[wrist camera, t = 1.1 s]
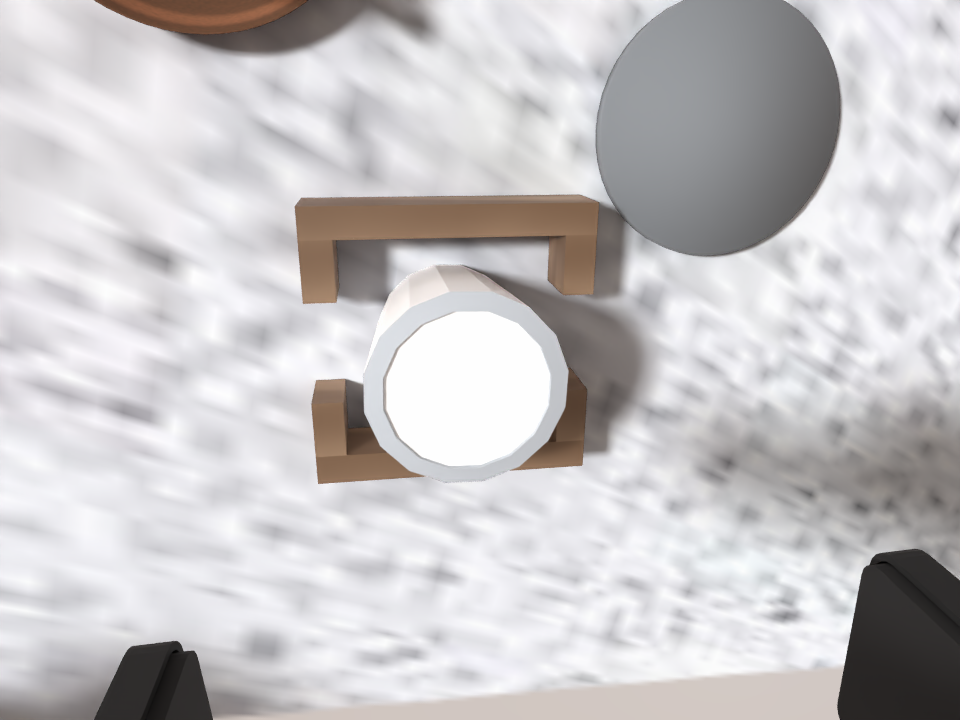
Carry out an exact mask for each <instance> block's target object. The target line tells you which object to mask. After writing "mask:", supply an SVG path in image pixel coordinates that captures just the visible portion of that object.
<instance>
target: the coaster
mask: <svg viewBox="0 0 960 720" xmlns="http://www.w3.org/2000/svg"><path fill="white" fill-rule="evenodd" d="M839 117H840V93H839V84H838V78H837V74H836V70H835V66H834V62H833V60H832V57H831V55H830V52H829V50H828V47H827V46H826V44H825V42H824V40H823V38H822V37H821V35H820V33H819V32H818V31H817V29H816V28H815V27H814V26H813V24H812V23H811V22H810V21H809V20H808V19H807V18H806V17H805V16H804V15H803V14H802V13H801V12H800V11H799V10H797V9H796V8H794V7H793V6H792V5H790V4H789V3H787V2H786V1H784V0H683V1H681V2H679V3H677V4H675V5H673V6H671V7H670V8H668V9H666V10H665V11H663V12H662V13H660V14H659V15H658V16H656V17H655V18H653V19H652V20H651V21H650V22H649V23H648V24H647V25H645V26H644V27H643V28H642V29H641V30H640V31H639V32H638V33H637V34H636V35H635V37H634V38H633V39H632V40H631V41H630V43H629V44H628V45H627V46H626V48H625V49H624V51H623V52H622V54H621V55H620V57H619V58H618V60H617V61H616V63H615V65H614V67H613V69H612V71H611V73H610V75H609V77H608V80H607V83H606V85H605V88H604V91H603V93H602V97H601V101H600V105H599V110H598V115H597V124H596V153H597V161H598V166H599V170H600V174H601V178H602V181H603V184H604V186H605V189H606V191H607V194H608V196H609V197H610V199H611V201H612V203H613V205H614V206H615V208H616V209H617V211H618V212H619V213H620V214H621V216H622V217H623V218H624V220H625V221H626V222H627V223H628V224H629V225H630V226H631V227H632V228H634V229H635V230H636V231H637V232H639V233H640V234H641V235H643V236H644V237H645V238H647V239H649V240H651V241H653V242H655V243H656V244H658V245H660V246H663V247H665V248H668V249H670V250H673V251H676V252H680V253H685V254H690V255H705V256H709V255H719V254H725V253H730V252H734V251H738V250H740V249H743V248H746V247H749V246H751V245H753V244H755V243H757V242H759V241H761V240H763V239H765V238H766V237H768V236H769V235H771V234H772V233H774V232H775V231H777V230H778V229H780V228H781V227H782V226H783V225H784V224H785V223H787V222H788V221H789V220H790V219H791V218H792V217H793V216H794V215H795V214H796V213H797V212H798V211H799V210H800V209H801V208H802V206H803V205H804V204H805V203H806V201H807V200H808V199H809V197H810V196H811V195H812V193H813V192H814V190H815V188H816V187H817V185H818V183H819V182H820V180H821V178H822V176H823V174H824V172H825V170H826V168H827V166H828V163H829V160H830V158H831V155H832V152H833V149H834V145H835V141H836V137H837V132H838V125H839Z"/></svg>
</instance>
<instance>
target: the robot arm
mask: <svg viewBox="0 0 960 720" xmlns="http://www.w3.org/2000/svg"><path fill="white" fill-rule="evenodd" d="M837 706H838V707H837V708H838V715H839V718H840V720H960V580H958V579H957V578H956V577H955V576H954V575H952V574H951V573H950V572H949V571H948V570H946V569H945V568H944V567H943V566H942V565H941V564H939V563H938V562H937V561H936V560H935V559H933V558H932V557H931V556H930V555H928V554H927V553H925V552H924V551H922V550H918V549H910V550H902V551H894V552H886V553H880V554H876V555H875V556H874V557H873V558H872V560H871V563H870V565H869V566H866V567H865V568H864V569H863V572H862V576H861V581H860V586H859V592H858V597H857V602H856V607H855V613H854V618H853V623H852V629H851V634H850V639H849V645H848V650H847V655H846V661H845V666H844V671H843V676H842V682H841V687H840V692H839V698H838V705H837ZM94 720H213V718H212V714H211V709H210V705H209V701H208V697H207V693H206V689H205V685H204V681H203V677H202V673H201V669H200V665H199V661H198V657H197V654H196V653H195V651H185V652H184V651H183V648H182V646H181V644H180V643H179V642H178V641H171V642H163V643H155V644H147V645H139V646H132V647H131V648H129V649H128V650H127V652H126V653H125V655H124V657H123V659H122V661H121V663H120V665H119V668H118V670H117V672H116V674H115V676H114V678H113V680H112V682H111V685H110V687H109V689H108V691H107V693H106V695H105V697H104V699H103V702H102V704H101V706H100V708H99V710H98V712H97V714H96V717H95V719H94Z"/></svg>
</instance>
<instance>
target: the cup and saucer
mask: <svg viewBox="0 0 960 720" xmlns="http://www.w3.org/2000/svg"><path fill="white" fill-rule="evenodd" d="M95 1H96V2H98V3H100V4H101V5H103V6H105V7H106V8H108V9H110V10H112V11H114V12H117V13H119V14H121V15H123V16H125V17H127V18H130V19H132V20H135V21H138V22H140V23H143V24H146V25H149V26H153V27H157V28H160V29H164V30H169V31H175V32H181V33H190V34H225V33H232V32H240V31H244V30H248V29H252V28H256V27H259V26H262V25H264V24H267V23H270V22H272V21H275V20H277V19H279V18H281V17H283V16H285V15H287V14H289V13H291V12H292V11H294V10H295V9H297V8H298V7H300V6H301V5H303V4H304V3H306V2H307V1H308V0H95Z"/></svg>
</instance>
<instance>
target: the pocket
mask: <svg viewBox="0 0 960 720" xmlns="http://www.w3.org/2000/svg"><path fill="white" fill-rule="evenodd" d="M598 212H599V202H597V201H594V200H592V199H589V198H587V197H584V196H582V195H512V196H427V197H341V198H301V199H300V200H299V202H298V203H297V204H296V206H295V215H296V227H297V239H298V251H299V263H300V275H301V286H302V298H303V304H310V303H336V302H337V296H338V290H339V276H338V261H337V246H336V240H368V239H417V238H466V237H516V236H549V260H548V281H549V282H550V283H551V284H552V285H553V286H554V287H555V288H556V289H557V290H558V291H559V292H560V293H562V294H563V295H583V294H593V290H594V274H595V259H596V243H597V227H598ZM568 370H569V371H568V383H567V394H566V406H565V409H564V411H563V413H562V415H561V417H560V419H559V421H558V423H557V425H556V427H555V429H554V430H553V432H552V434H551V436H550V438H549V440H548V441H547V442H546V443H545V444H544V445H543V446H542V447H541V448H540V449H539V450H537V451H536V452H535V453H534V454H533V455H532V456H531V457H530V458H528V459H527V460H526V461H525V462H524V463H523V464H522V465H521V466H519V467H517V468H515V469H512V470H525V469H540V468H554V467H568V466H582V463H583V447H584V432H585V416H586V400H587V389H586V387H585V386H584V385H583V383H582V382H581V381H580V380H579V378H578V377H577V376H576V374H575V373H574V372H573V371H572V369H571V368H568ZM311 405H312V417H313V428H314V440H315V452H316V464H317V476H318V484H323V483H338V482H352V481H367V480H381V479H395V478H410V477H424V476H423V475H420V474H417V473H414V472H411V471H409V470H408V469H406V468H405V467H404V466H403V465H402V464H400V463H399V462H398V461H397V460H396V459H395V458H393V457H392V456H391V455H390V454H389V453H387V452H386V451H385V450H384V449H383V448H382V447H380V445H379V442H378V440H377V438H376V436H375V434H374V432H373V430H372V428H371V427H364V428H348V414H347V399H346V383H345V379H335V380H316V384H315V389H314V394H313V399H312V404H311ZM510 471H511V470H510Z"/></svg>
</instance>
